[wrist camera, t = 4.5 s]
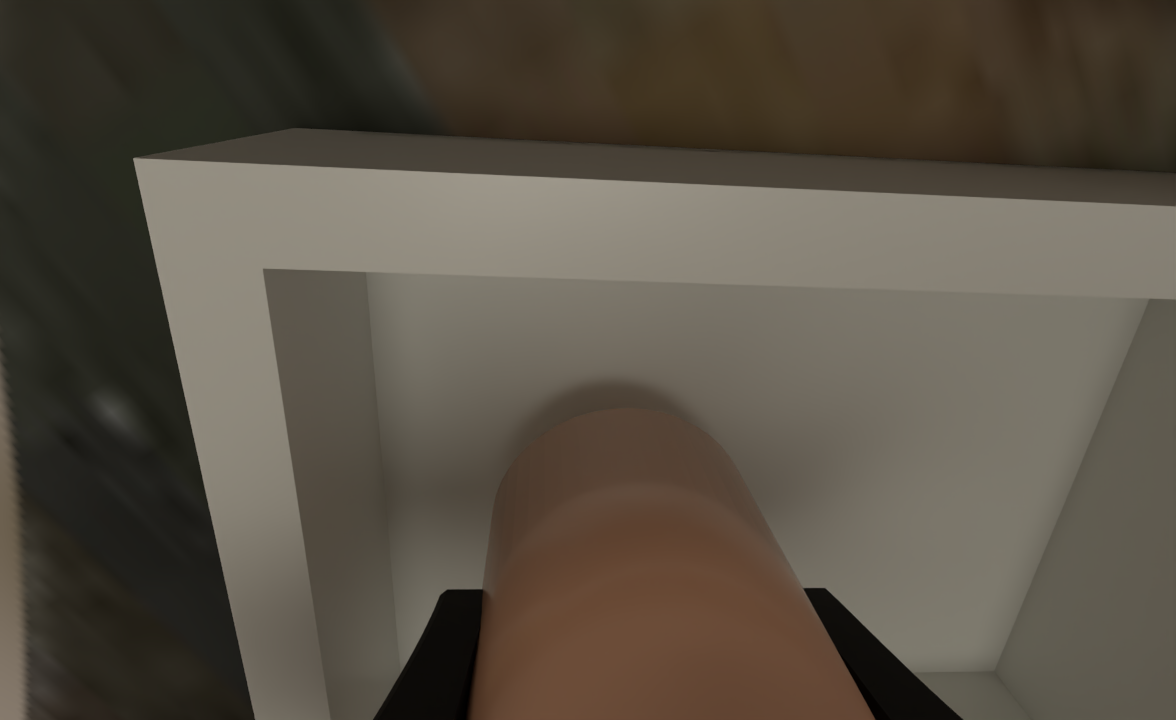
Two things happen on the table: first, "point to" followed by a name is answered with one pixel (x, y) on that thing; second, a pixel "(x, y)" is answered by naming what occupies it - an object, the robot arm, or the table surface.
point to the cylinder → (644, 588)
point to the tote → (686, 388)
